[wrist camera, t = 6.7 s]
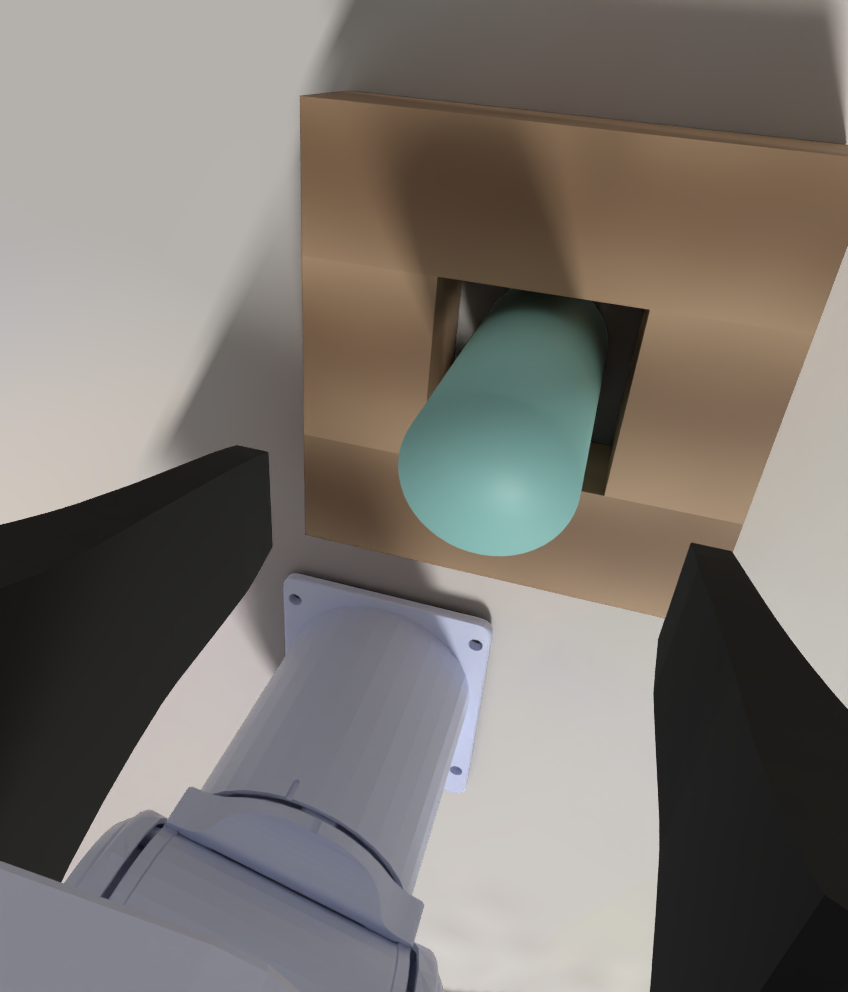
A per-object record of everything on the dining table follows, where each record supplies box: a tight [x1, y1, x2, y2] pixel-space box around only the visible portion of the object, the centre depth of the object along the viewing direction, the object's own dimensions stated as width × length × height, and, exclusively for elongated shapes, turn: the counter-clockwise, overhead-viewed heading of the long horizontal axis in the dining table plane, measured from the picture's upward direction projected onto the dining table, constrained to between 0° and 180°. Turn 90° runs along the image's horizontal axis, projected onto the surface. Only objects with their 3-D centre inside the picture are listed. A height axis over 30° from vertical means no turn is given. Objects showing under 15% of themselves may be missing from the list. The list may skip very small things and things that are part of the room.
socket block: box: [300, 91, 848, 618], centre depth 20 cm, size 12×12×3 cm
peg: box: [398, 288, 608, 556], centre depth 17 cm, size 4×4×8 cm
